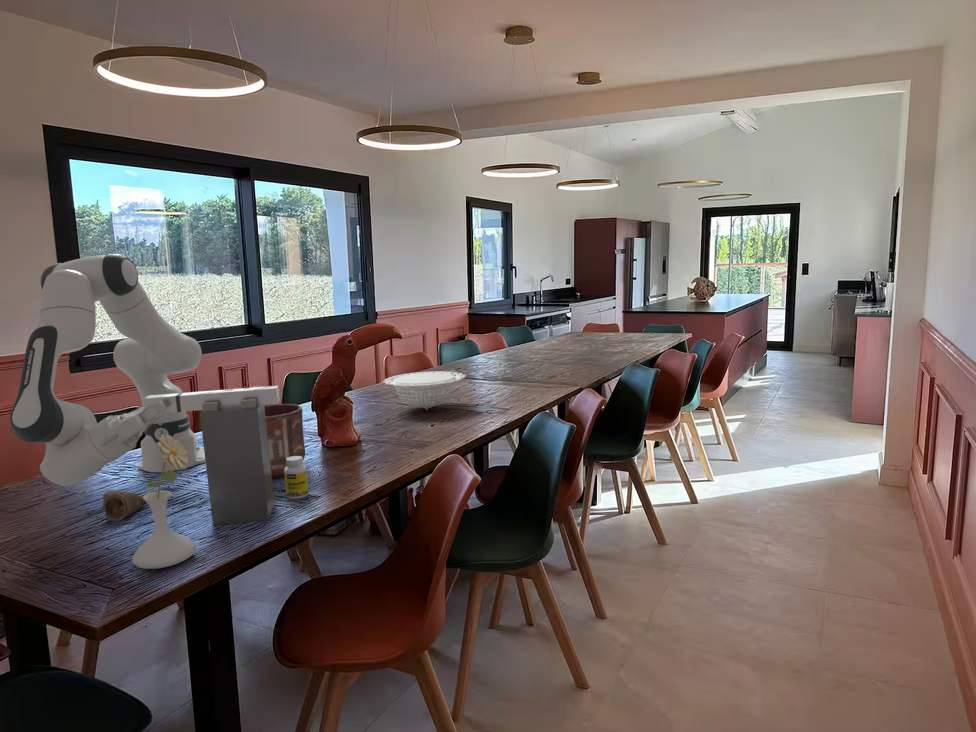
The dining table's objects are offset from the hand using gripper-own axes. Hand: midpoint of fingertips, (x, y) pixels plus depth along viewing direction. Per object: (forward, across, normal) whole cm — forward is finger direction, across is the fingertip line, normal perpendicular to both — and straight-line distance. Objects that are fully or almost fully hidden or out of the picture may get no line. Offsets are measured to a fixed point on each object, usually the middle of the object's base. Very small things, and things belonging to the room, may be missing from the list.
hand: (169, 400), depth 147 cm
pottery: (0, +32, +33) cm, 46 cm away
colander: (+42, +97, +57) cm, 120 cm away
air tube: (+7, 0, +7) cm, 10 cm away
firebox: (-3, 0, +31) cm, 31 cm away
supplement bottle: (+7, +10, +37) cm, 39 cm away
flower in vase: (-12, -21, +26) cm, 36 cm away
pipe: (-30, +13, +16) cm, 37 cm away
